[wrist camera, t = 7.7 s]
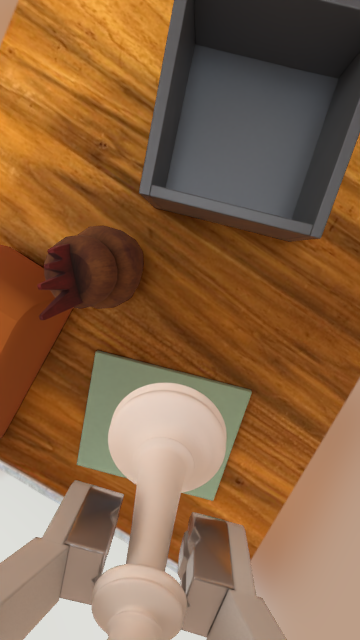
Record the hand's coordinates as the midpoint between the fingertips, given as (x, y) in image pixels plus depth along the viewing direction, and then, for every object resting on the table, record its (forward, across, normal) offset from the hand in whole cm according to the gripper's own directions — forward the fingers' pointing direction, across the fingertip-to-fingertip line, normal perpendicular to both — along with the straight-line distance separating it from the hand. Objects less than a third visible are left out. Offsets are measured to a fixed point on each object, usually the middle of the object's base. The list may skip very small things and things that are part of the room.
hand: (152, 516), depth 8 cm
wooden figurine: (+22, +8, -4) cm, 24 cm away
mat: (+22, 0, +14) cm, 25 cm away
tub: (+21, -1, -17) cm, 28 cm away
